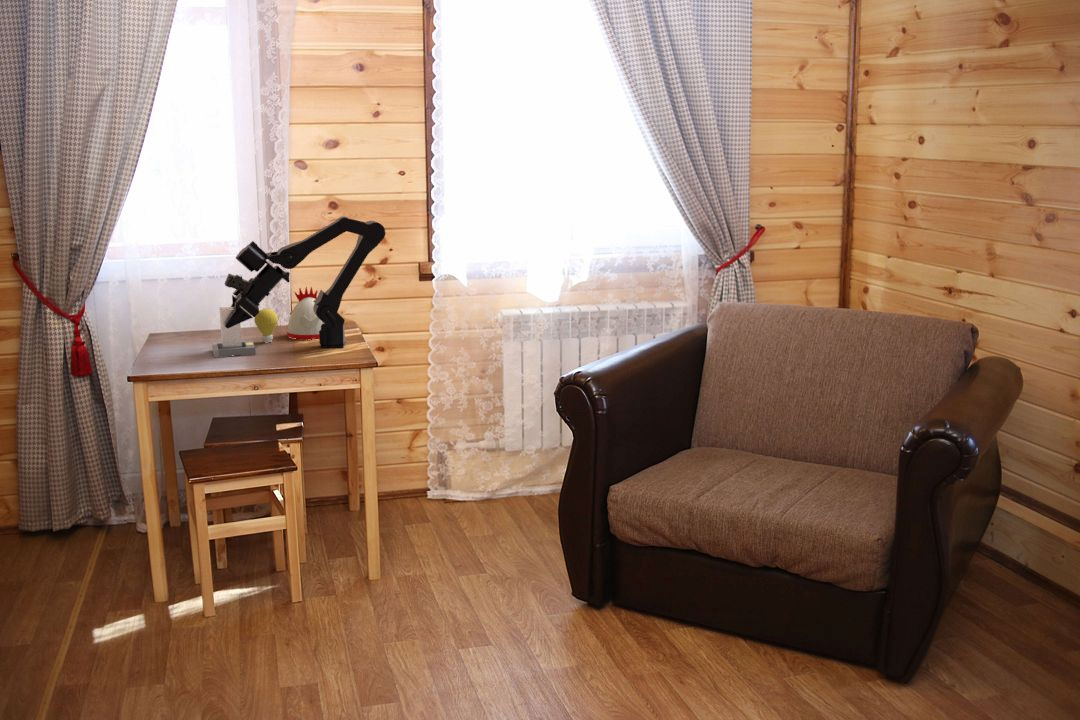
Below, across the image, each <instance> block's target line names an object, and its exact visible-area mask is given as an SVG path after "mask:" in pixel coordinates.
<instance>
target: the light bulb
mask: <svg viewBox="0 0 1080 720" xmlns="http://www.w3.org/2000/svg"><path fill="white" fill-rule="evenodd" d="M278 323H279V317H278V315H277V312H275V311H274V310H273V309H270V308H262V309H259V313H258V314H257V315H256V316H255V317H254V324H255V326H256V328H257V329H258V330H259V332H260V333H261V334H262V335H261V340H263V341H262V342H271V343H272V340H273V338H274V335H273V332H274V331H275V329H276V328H277V327H276V326H277V325H278Z"/></svg>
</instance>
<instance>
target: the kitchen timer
mask: <svg viewBox="0 0 1080 720" xmlns="http://www.w3.org/2000/svg"><path fill="white" fill-rule="evenodd" d="M298 289H299V292H298V293H299V294H298V293H297V292H296V291H294V295H295V297H296V298H297V300H298V302H297V303H296V304H295V306H294V308H293V309H292V310H291V311H290V312H289V320H288V324H287V331H286V333H287V335H286V336H288V337H291V338H296V339H307V340H306V341H309V340H308V339H311V340H310V341H313V340H312V339H319V331H320V329H321V325H322V324H324V323H323V322H322V321H321V320H320V319H319V318H318V317H317V316H316V314H315V313H314V310H313V307H314V304H315V303H314V302H313V301H314V300H315V299H316V298H317V297H318V289H316V290H315V291H313V287H312V286H310V290H309V291H308V287H307V286H305V288H304V289H305V291H304V293H303V291H302V288H301V287H299V288H298ZM288 337H287V338H288Z"/></svg>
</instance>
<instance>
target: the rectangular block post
mask: <svg viewBox="0 0 1080 720" xmlns="http://www.w3.org/2000/svg"><path fill="white" fill-rule="evenodd" d="M234 311H235V307H231V306H225V307H219V318H220V319H219V321H220V323H219V324H220V337H221V343H222V349H226V348H242V343H241V341H242V331H241V328H242V327H241V323H239V324H237V325H235V326H232V327H230V328H226V327H225V325H226V323H227V321H228V320H229V318H230V317H231V315H232V314H233V312H234Z"/></svg>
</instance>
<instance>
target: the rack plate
mask: <svg viewBox="0 0 1080 720" xmlns="http://www.w3.org/2000/svg"><path fill="white" fill-rule="evenodd" d="M241 343H242V348H226V349H222V342H213V343H212V344H211V347H212V348H211V349H212V354H213V358H219V357H218V356H227V357H233V356H232V355H242V356H255V355H254V354H256V346H255V344H254V341H253V340H247V341H246V340H243V341H242V340H241Z"/></svg>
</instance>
